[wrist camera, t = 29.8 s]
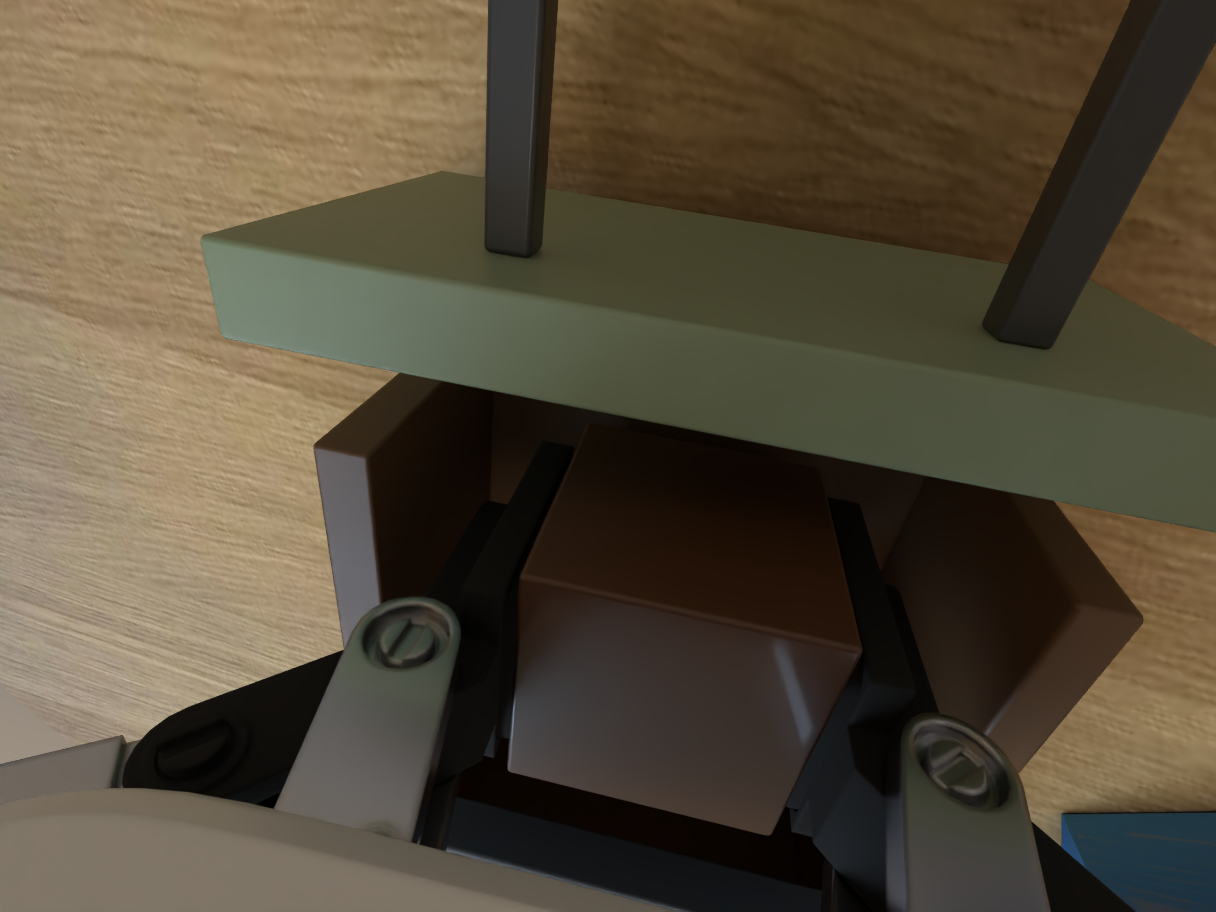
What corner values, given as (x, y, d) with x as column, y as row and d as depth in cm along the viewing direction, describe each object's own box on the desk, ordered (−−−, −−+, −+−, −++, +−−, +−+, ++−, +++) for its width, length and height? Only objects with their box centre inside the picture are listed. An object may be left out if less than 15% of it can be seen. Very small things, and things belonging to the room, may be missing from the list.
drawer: (431, -303, 9) (-66, -941, 3) (1350, -217, 8) (2814, -958, 2) (449, 665, 20) (340, 883, 14) (830, 756, 19) (868, 1029, 13)
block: (586, 420, 11) (517, 575, 7) (822, 466, 10) (866, 652, 7) (566, 590, 13) (505, 773, 9) (761, 633, 12) (771, 839, 9)
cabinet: (440, 518, 18) (248, 794, 11) (906, 619, 17) (1030, 1003, 10) (448, 811, 26) (341, 1075, 19) (760, 892, 25) (769, 1206, 18)
